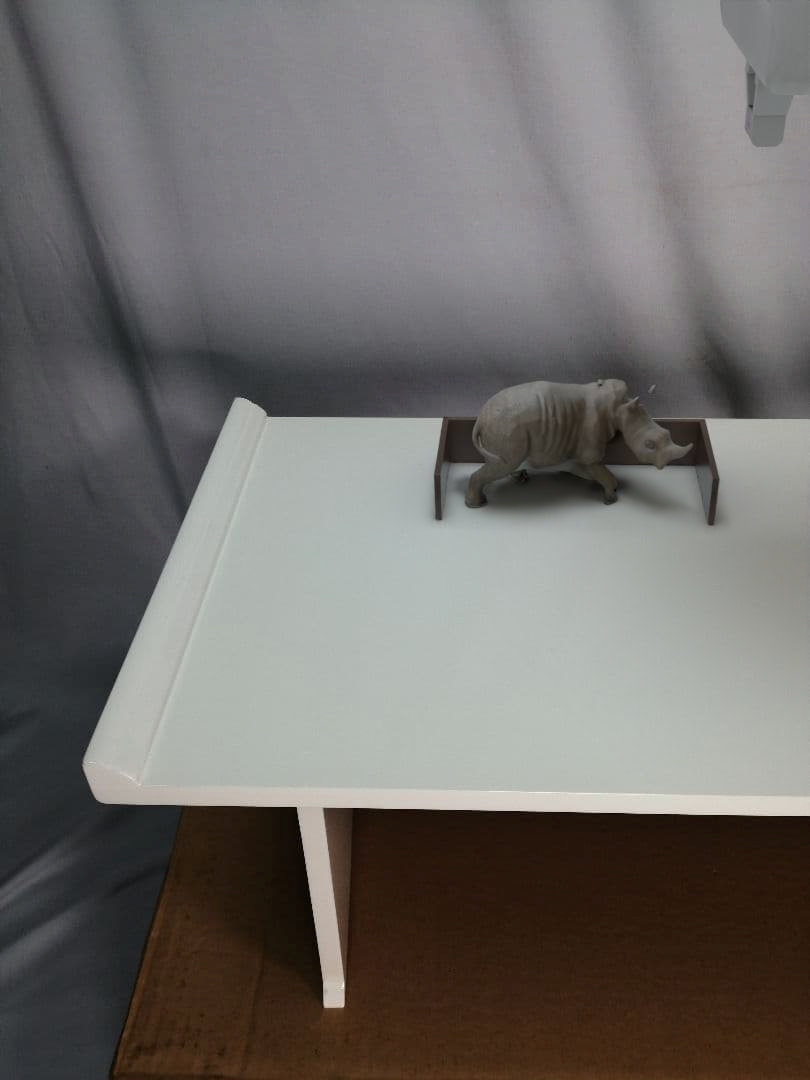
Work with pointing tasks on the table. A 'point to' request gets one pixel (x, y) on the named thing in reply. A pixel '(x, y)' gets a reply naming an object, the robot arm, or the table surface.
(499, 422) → the rhinoceros figurine
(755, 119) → the robot arm
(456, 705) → the table surface
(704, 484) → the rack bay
